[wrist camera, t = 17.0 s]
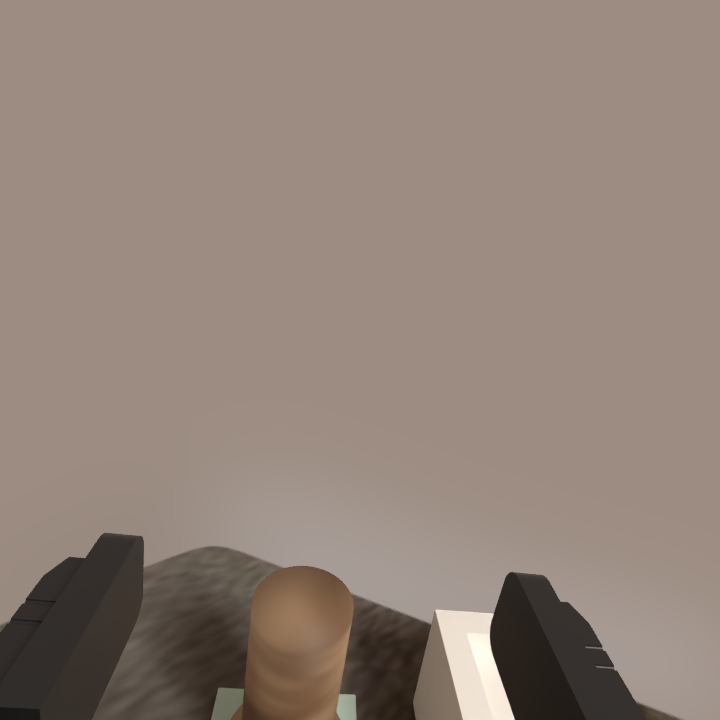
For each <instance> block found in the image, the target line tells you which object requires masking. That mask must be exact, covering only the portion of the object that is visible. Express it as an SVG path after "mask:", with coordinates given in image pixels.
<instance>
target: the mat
mask: <svg viewBox="0 0 720 720" xmlns="http://www.w3.org/2000/svg"><path fill="white" fill-rule="evenodd" d="M243 696H244V689H236V688H218V692H217V696H216V701H215V705H214V709H213V713H212V718H211V720H231V718H232V716H233V715H234V713H235V712H236V710H237V709H238V708H239V707H240V706H241V704H242V703H243ZM336 712H337V714H338V716H339V718H340V720H357V719H356V698H355V695H349V694H339V699H338V705H337V710H336Z"/></svg>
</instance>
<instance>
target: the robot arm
mask: <svg viewBox="0 0 720 720" xmlns="http://www.w3.org/2000/svg"><path fill="white" fill-rule="evenodd" d="M143 557H144V541H143V537H141V536H133V535H122V534H112V533H104V534H102V535H101V536H100V538H99V539H98V540H97V542H96V543H95V545H94V546H93V548H92V549H91V551H90V552H89V554H88V555H87V557H86V558H75V557H69V558H67V559H66V560H64V561H63V562H62V563H60V564H59V565H58V566H56V567H55V568H53V569H52V570H51V571H49V572H48V573H46V574H45V575H44V576H43V577H42V578H41V580H40V581H39V582H38V584H37V585H36V586H35V588H34V589H33V591H32V592H31V593H30V594H29V596H28V597H27V598H26V602H25V604H22V605H21V606H20V607H19V609H18V610H17V611H16V613H15V614H14V615H13V617H12V618H11V621H10V623H9V624H7V625H6V626H5V627H4V628H3V630H2V631H1V632H0V720H91V719H92V717H93V715H94V713H95V711H96V709H97V706H98V704H99V702H100V700H101V698H102V695H103V693H104V691H105V689H106V687H107V685H108V682H109V680H110V678H111V676H112V674H113V672H114V669H115V667H116V665H117V663H118V661H119V659H120V656H121V654H122V652H123V650H124V648H125V645H126V643H127V641H128V639H129V637H130V635H131V632H132V630H133V628H134V626H135V623H136V621H137V618H138V615H139V611H140V607H141V602H142V596H143V561H144V560H143V559H144V558H143ZM490 645H491V651H492V655H493V658H494V661H495V664H496V666H497V669H498V672H499V675H500V678H501V681H502V684H503V687H504V690H505V693H506V696H507V698H508V701H509V704H510V707H511V710H512V713H513V716H514V719H515V720H646V719H645V717H644V715H643V714H642V712H641V710H640V709H639V707H638V705H637V704H636V702H635V700H634V699H633V697H632V695H631V693H630V692H629V690H628V688H627V687H626V685H625V684H624V682H623V680H622V678H621V677H620V675H619V673H618V672H617V671H615V670H614V665H613V663H612V661H611V660H610V658H609V656H608V655H607V653H606V651H603V649H602V645H601V643H600V641H599V640H598V638H597V636H596V634H595V633H594V631H593V629H592V628H591V626H590V624H589V623H588V622H587V621H586V620H585V619H584V618H583V617H582V616H581V615H580V614H579V613H578V612H577V611H576V610H575V609H574V608H573V607H572V606H571V605H570V604H569V603H568V602H560V600H559V599H558V597H557V595H556V593H555V591H554V589H553V588H552V586H551V584H550V582H549V581H548V580H547V578H546V577H545V576H543V575H536V574H525V573H514V572H510V573H509V574H508V575H507V576H506V578H505V581H504V584H503V587H502V590H501V593H500V596H499V600H498V603H497V606H496V609H495V612H494V615H493V618H492V621H491V626H490Z"/></svg>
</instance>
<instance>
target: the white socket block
mask: <svg viewBox="0 0 720 720" xmlns="http://www.w3.org/2000/svg"><path fill="white" fill-rule="evenodd" d="M493 615H494V614H491V613H476V612H462V611H448V610H435V612H434V617H433V621H432V625H431V629H430V633H429V637H428V641H427V645H426V650H425V654H424V658H423V662H422V666H421V670H420V675H419V679H418V683H417V687H416V691H415V695H414V699H413V707H414V713H415V719H416V720H515V719H514V716H513V713H512V710H511V707H510V704H509V701H508V698H507V696H506V693H505V690H504V687H503V684H502V681H501V678H500V675H499V672H498V669H497V666H496V664H495V661H494V658H493V655H492V651H491V645H490V626H491V621H492V618H493Z"/></svg>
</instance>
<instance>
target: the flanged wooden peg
mask: <svg viewBox="0 0 720 720" xmlns="http://www.w3.org/2000/svg"><path fill="white" fill-rule="evenodd" d="M353 611H354V604H353V599H352V596H351V594H350V592H349V590H348V588H347V587H346V586H345V584H344V583H343V582H342V581H341V580H340V579H339V578H337V577H336V576H334V575H333V574H331V573H329V572H327V571H325V570H322V569H319V568H315V567H308V566H294V567H288V568H284V569H281V570H278V571H276V572H274V573H272V574H271V575H269V576H268V577H266V578H265V579H264V580H263V581H262V582H261V583H260V584H259V585H258V587H257V589H256V590H255V593H254V595H253V599H252V607H251V618H250V629H249V640H248V651H247V662H246V673H245V684H244V696H243V703H242V704H241V706H240V707H239V708H238V709H237V710H236V712H235V713H234V715H233V716H232V718H231V720H340V718H339V716H338V714H337V712H336V710H337V705H338V699H339V693H340V687H341V681H342V675H343V670H344V664H345V658H346V652H347V646H348V641H349V635H350V629H351V623H352V617H353Z"/></svg>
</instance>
